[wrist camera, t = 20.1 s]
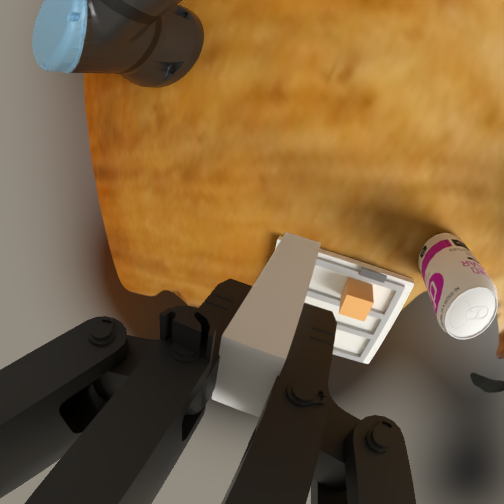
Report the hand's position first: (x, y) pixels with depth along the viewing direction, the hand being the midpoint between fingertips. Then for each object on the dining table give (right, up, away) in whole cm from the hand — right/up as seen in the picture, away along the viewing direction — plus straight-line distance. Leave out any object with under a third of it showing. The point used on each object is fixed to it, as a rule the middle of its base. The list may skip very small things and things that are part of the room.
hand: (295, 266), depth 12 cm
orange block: (+14, -5, +30) cm, 33 cm away
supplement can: (+27, 0, +25) cm, 36 cm away
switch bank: (+11, -8, +34) cm, 37 cm away
